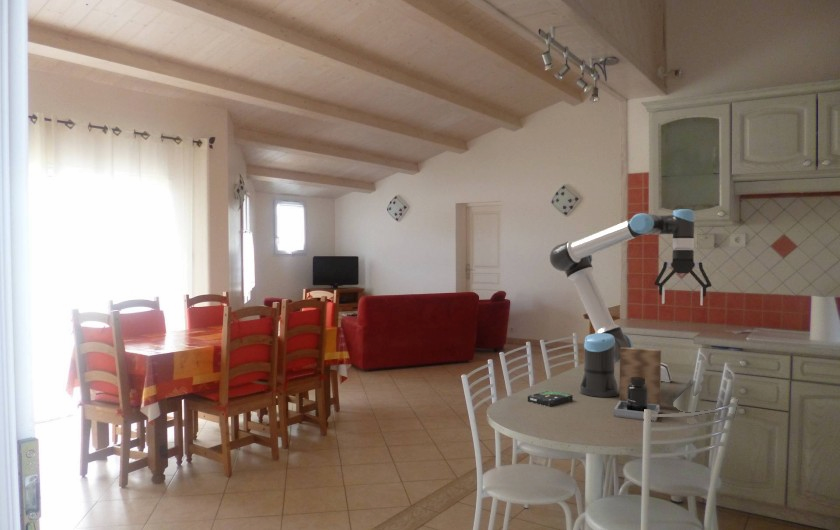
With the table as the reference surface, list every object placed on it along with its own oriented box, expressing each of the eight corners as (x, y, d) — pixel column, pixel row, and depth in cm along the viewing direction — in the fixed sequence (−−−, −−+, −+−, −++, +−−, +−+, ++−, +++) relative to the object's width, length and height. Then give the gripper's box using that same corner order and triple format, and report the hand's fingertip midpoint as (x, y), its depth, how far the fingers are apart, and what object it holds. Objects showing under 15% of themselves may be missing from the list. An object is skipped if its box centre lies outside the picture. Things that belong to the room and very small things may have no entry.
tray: (613, 416, 209) (613, 409, 209) (619, 407, 221) (619, 400, 221) (656, 421, 203) (656, 413, 203) (659, 412, 215) (659, 405, 215)
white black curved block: (673, 381, 269) (670, 360, 266) (669, 386, 265) (667, 365, 263) (636, 375, 280) (633, 356, 277) (632, 380, 277) (629, 361, 274)
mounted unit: (619, 404, 226) (620, 348, 225) (621, 401, 231) (622, 346, 231) (659, 408, 220) (660, 351, 219) (660, 405, 225) (661, 348, 224)
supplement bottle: (626, 413, 210) (626, 379, 210) (627, 409, 217) (627, 375, 216) (647, 415, 208) (647, 380, 208) (647, 411, 214) (648, 377, 214)
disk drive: (549, 408, 221) (573, 401, 231) (549, 401, 221) (573, 394, 231) (527, 403, 229) (550, 396, 239) (527, 395, 229) (550, 389, 239)
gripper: (719, 249, 232) (717, 305, 233) (649, 249, 243) (648, 302, 244) (719, 249, 226) (718, 306, 226) (647, 249, 236) (646, 303, 237)
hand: (682, 304), depth 235 cm, fingers open, 13 cm apart
